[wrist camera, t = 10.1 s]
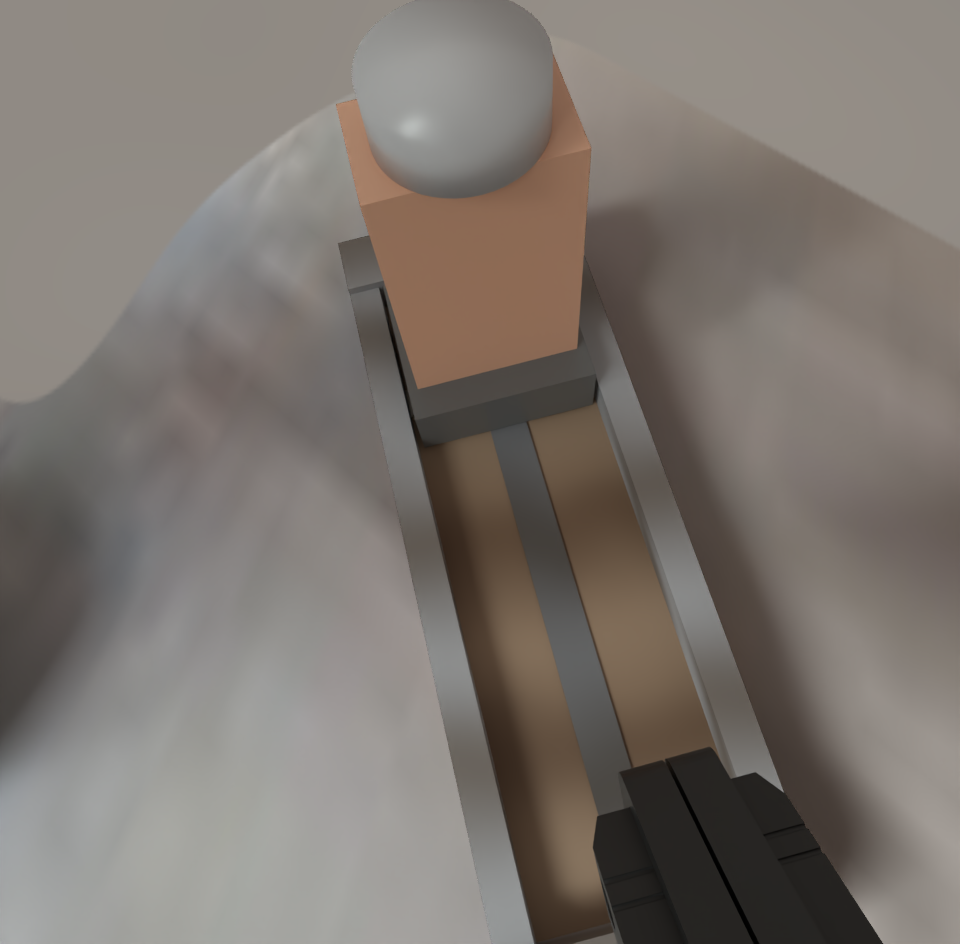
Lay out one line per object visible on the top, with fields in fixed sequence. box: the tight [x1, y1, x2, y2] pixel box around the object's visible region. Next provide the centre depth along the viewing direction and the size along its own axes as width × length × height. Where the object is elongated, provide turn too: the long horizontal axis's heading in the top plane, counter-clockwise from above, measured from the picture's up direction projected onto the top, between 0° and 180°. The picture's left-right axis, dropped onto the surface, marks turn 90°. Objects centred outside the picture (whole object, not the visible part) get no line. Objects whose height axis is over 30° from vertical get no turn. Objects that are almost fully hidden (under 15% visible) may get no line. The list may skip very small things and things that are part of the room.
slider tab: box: [336, 0, 596, 448], centre depth 21 cm, size 5×6×12 cm
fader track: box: [338, 236, 784, 944], centre depth 24 cm, size 24×8×4 cm, turn 14°
